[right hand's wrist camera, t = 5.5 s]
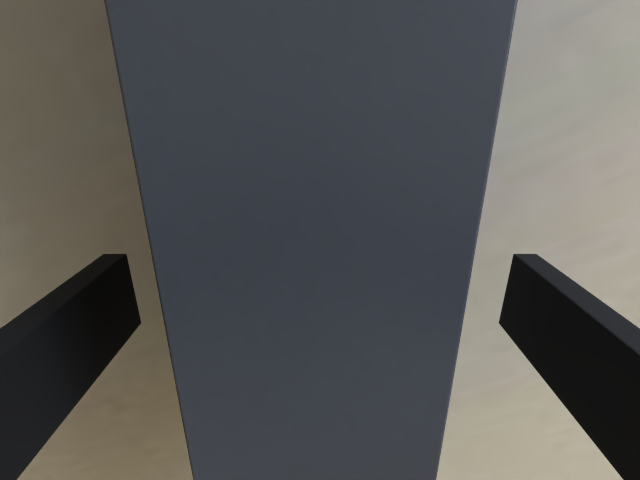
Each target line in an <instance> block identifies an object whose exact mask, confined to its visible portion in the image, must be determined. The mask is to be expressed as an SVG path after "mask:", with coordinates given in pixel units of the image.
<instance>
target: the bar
mask: <svg viewBox="0 0 640 480" xmlns="http://www.w3.org/2000/svg"><path fill="white" fill-rule="evenodd" d="M104 1H105V6H106V11H107V17H108V22H109V28H110V33H111V38H112V44H113V49H114V54H115V60H116V65H117V71H118V76H119V81H120V87H121V92H122V98H123V103H124V108H125V114H126V119H127V125H128V130H129V135H130V141H131V146H132V151H133V157H134V162H135V168H136V173H137V178H138V184H139V189H140V195H141V200H142V205H143V211H144V216H145V222H146V227H147V232H148V238H149V243H150V248H151V254H152V259H153V265H154V270H155V275H156V281H157V286H158V292H159V297H160V302H161V308H162V313H163V318H164V324H165V329H166V335H167V340H168V345H169V351H170V356H171V362H172V367H173V372H174V378H175V383H176V389H177V394H178V399H179V405H180V410H181V415H182V421H183V426H184V432H185V437H186V442H187V448H188V453H189V459H190V464H191V469H192V475H193V480H436V477H437V471H438V465H439V459H440V453H441V448H442V442H443V436H444V430H445V424H446V418H447V412H448V406H449V401H450V395H451V389H452V383H453V377H454V371H455V365H456V359H457V353H458V348H459V342H460V336H461V330H462V324H463V318H464V312H465V306H466V301H467V295H468V289H469V283H470V277H471V271H472V265H473V259H474V254H475V248H476V242H477V236H478V230H479V224H480V218H481V212H482V207H483V201H484V195H485V189H486V183H487V177H488V171H489V165H490V159H491V154H492V148H493V142H494V136H495V130H496V124H497V118H498V112H499V107H500V101H501V95H502V89H503V83H504V77H505V71H506V65H507V60H508V54H509V48H510V42H511V36H512V30H513V24H514V18H515V13H516V7H517V1H518V0H104Z"/></svg>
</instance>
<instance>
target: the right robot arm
mask: <svg viewBox="0 0 640 480" xmlns="http://www.w3.org/2000/svg"><path fill="white" fill-rule="evenodd" d="M140 324H141V320H140V315H139V311H138V306H137V302H136V297H135V292H134V288H133V283H132V278H131V274H130V269H129V264H128V260H127V255H126V254H103V255H102V256H100V257H99V258H98V259H96V260H95V261H93V262H92V263H91V264H89V265H88V266H87V267H85V268H84V269H82V270H81V271H80V272H78V273H77V274H75V275H74V276H73V277H71V278H70V279H68V280H67V281H66V282H64V283H63V284H62V285H60V286H59V287H57V288H56V289H55V290H53V291H52V292H50V293H49V294H48V295H46V296H45V297H44V298H42V299H41V300H39V301H38V302H37V303H35V304H34V305H32V306H31V307H30V308H28V309H27V310H26V311H24V312H23V313H21V314H20V315H19V316H17V317H16V318H14V319H13V320H12V321H10V322H9V323H8V324H6V325H5V326H3V327H2V328H1V329H0V480H17V478H18V477H19V476H20V475H21V473H22V472H23V471H24V470H25V468H26V467H27V466H28V465H29V463H30V462H31V461H32V460H33V458H34V457H35V456H36V454H37V453H38V452H39V451H40V449H41V448H42V447H43V446H44V444H45V443H46V442H47V441H48V439H49V438H50V437H51V436H52V434H53V433H54V432H55V431H56V429H57V428H58V427H59V426H60V424H61V423H62V422H63V421H64V419H65V418H66V417H67V415H68V414H69V413H70V412H71V410H72V409H73V408H74V407H75V405H76V404H77V403H78V402H79V400H80V399H81V398H82V397H83V395H84V394H85V393H86V392H87V390H88V389H89V388H90V387H91V385H92V384H93V383H94V382H95V380H96V379H97V378H98V377H99V375H100V374H101V373H102V371H103V370H104V369H105V368H106V366H107V365H108V364H109V363H110V361H111V360H112V359H113V358H114V356H115V355H116V354H117V353H118V351H119V350H120V349H121V348H122V346H123V345H124V344H125V343H126V341H127V340H128V339H129V338H130V336H131V335H132V334H133V332H134V331H135V330H136V329H137V327H138V326H139V325H140ZM499 324H500V325H501V326H502V327H503V329H504V330H505V331H506V332H507V334H508V335H509V336H510V338H511V339H512V340H513V341H514V343H515V344H516V345H517V346H518V348H519V349H520V350H521V351H522V353H523V354H524V355H525V356H526V358H527V359H528V360H529V361H530V363H531V364H532V365H533V366H534V368H535V369H536V370H537V371H538V373H539V374H540V375H541V377H542V378H543V379H544V380H545V382H546V383H547V384H548V385H549V387H550V388H551V389H552V390H553V392H554V393H555V394H556V395H557V397H558V398H559V399H560V400H561V402H562V403H563V404H564V405H565V407H566V408H567V409H568V410H569V412H570V413H571V414H572V415H573V417H574V418H575V419H576V421H577V422H578V423H579V424H580V426H581V427H582V428H583V429H584V431H585V432H586V433H587V434H588V436H589V437H590V438H591V439H592V441H593V442H594V443H595V444H596V446H597V447H598V448H599V449H600V451H601V452H602V453H603V454H604V456H605V457H606V458H607V460H608V461H609V462H610V463H611V465H612V466H613V467H614V468H615V470H616V471H617V472H618V473H619V475H620V476H621V477H622V478H623V480H640V329H639V328H638V327H637V326H635V325H634V324H632V323H631V322H630V321H628V320H627V319H626V318H624V317H623V316H621V315H620V314H619V313H617V312H616V311H614V310H613V309H612V308H610V307H609V306H608V305H606V304H605V303H603V302H602V301H601V300H599V299H598V298H596V297H595V296H594V295H592V294H591V293H590V292H588V291H587V290H585V289H584V288H583V287H581V286H580V285H578V284H577V283H576V282H574V281H573V280H572V279H570V278H569V277H567V276H566V275H565V274H563V273H562V272H560V271H559V270H558V269H556V268H555V267H553V266H552V265H551V264H549V263H548V262H547V261H545V260H544V259H542V258H541V257H540V256H538V255H537V254H514V255H513V260H512V264H511V269H510V274H509V278H508V283H507V288H506V292H505V297H504V301H503V306H502V311H501V315H500V320H499Z"/></svg>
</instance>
